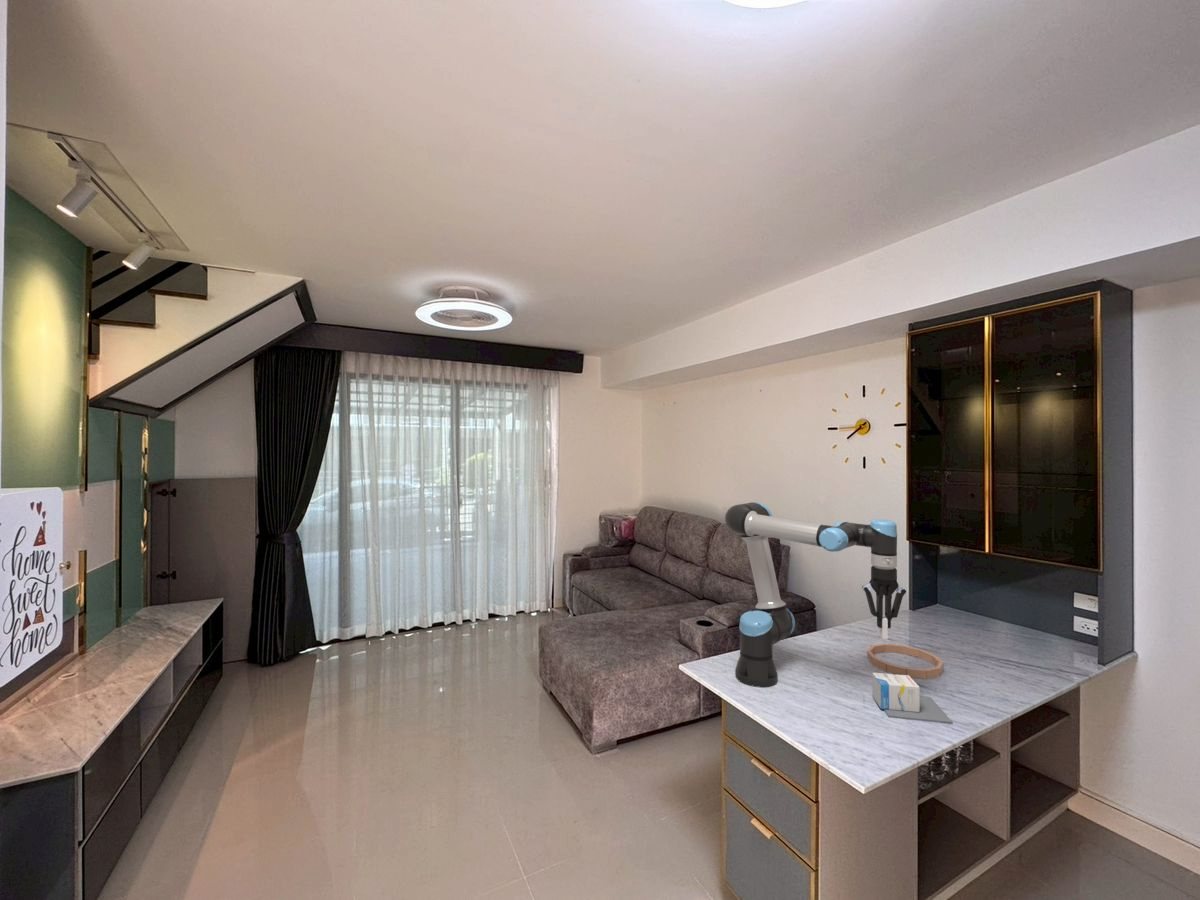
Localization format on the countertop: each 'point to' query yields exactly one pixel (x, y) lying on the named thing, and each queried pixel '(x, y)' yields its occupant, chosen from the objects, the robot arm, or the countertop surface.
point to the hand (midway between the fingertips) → (883, 637)
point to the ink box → (896, 692)
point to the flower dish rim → (902, 670)
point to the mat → (922, 712)
